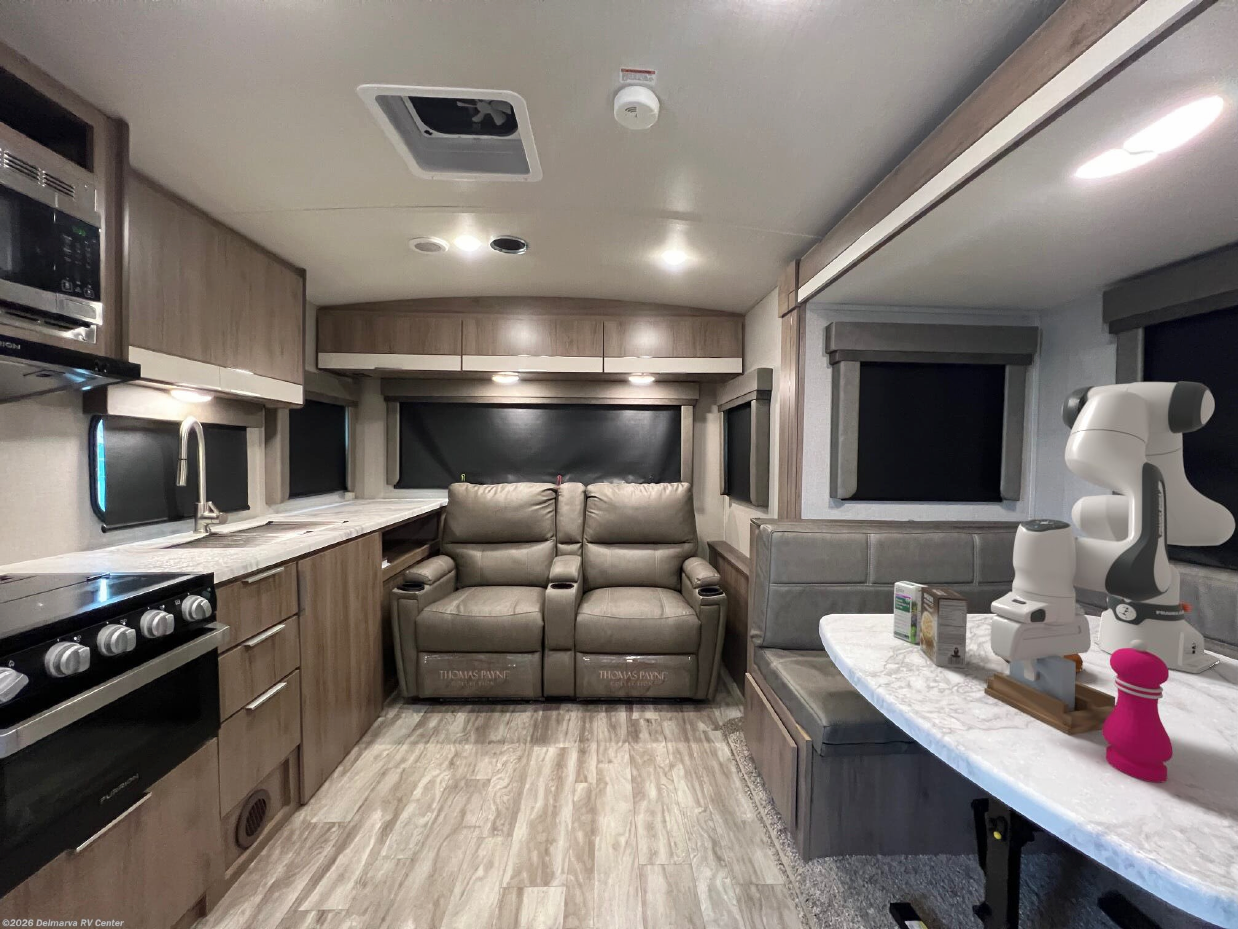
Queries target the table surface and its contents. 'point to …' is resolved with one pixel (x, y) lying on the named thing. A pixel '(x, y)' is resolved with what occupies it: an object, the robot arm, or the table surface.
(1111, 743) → the pepper mill
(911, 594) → the syrup box
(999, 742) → the table surface
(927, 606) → the coffee box
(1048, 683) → the tile
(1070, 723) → the rack
